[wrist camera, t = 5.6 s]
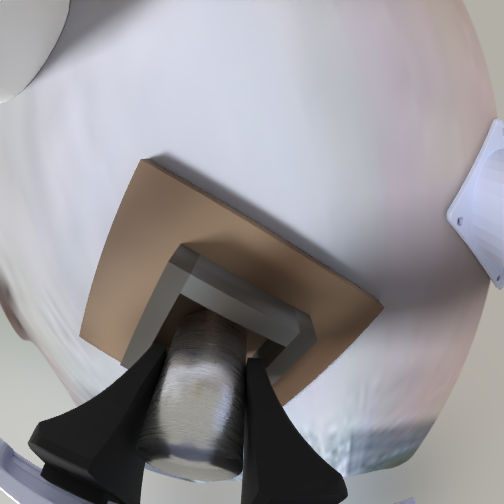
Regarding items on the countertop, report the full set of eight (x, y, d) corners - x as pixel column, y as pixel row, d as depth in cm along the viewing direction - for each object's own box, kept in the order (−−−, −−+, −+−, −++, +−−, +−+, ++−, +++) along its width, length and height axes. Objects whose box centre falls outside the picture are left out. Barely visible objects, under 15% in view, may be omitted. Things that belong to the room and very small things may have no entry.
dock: (378, 300, 14) (398, 329, 11) (261, 414, 18) (261, 444, 15) (147, 158, 11) (119, 163, 9) (84, 329, 15) (65, 355, 12)
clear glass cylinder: (249, 313, 13) (246, 448, 6) (244, 367, 14) (240, 484, 7) (174, 306, 13) (123, 428, 6) (179, 360, 14) (147, 470, 7)
